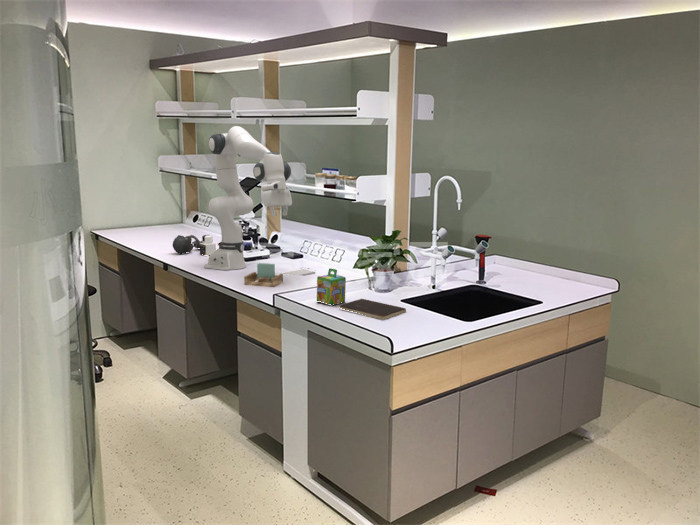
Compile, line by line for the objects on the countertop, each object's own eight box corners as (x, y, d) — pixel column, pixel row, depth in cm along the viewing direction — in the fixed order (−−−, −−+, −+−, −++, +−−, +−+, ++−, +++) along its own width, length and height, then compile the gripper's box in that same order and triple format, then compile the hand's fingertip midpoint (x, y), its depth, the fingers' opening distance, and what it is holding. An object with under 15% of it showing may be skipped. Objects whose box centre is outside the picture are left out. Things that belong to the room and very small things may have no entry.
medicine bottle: (199, 254, 374) (199, 235, 372) (210, 253, 379) (209, 233, 377) (205, 256, 369) (205, 236, 367) (216, 255, 374) (215, 235, 372)
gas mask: (205, 264, 388) (178, 251, 366) (194, 262, 392) (167, 250, 371) (211, 243, 391) (185, 229, 370) (201, 241, 395) (174, 227, 374)
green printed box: (316, 302, 269) (316, 269, 266) (330, 298, 276) (330, 266, 273) (331, 306, 263) (331, 272, 260) (346, 302, 270) (346, 269, 267)
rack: (244, 286, 296) (244, 276, 295) (254, 281, 306) (253, 271, 305) (274, 289, 292) (274, 278, 291) (282, 284, 302) (282, 274, 301)
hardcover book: (382, 321, 245) (382, 315, 244) (338, 310, 259) (338, 305, 259) (406, 313, 257) (406, 307, 256) (362, 303, 271) (362, 298, 271)
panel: (257, 282, 301) (257, 263, 300) (259, 281, 304) (259, 262, 302) (272, 283, 299) (272, 265, 297) (274, 282, 302) (274, 264, 300)
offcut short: (258, 281, 295) (258, 278, 295) (260, 280, 299) (260, 277, 299) (268, 282, 295) (268, 279, 294) (270, 280, 298) (270, 277, 298)
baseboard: (254, 279, 313) (269, 283, 305) (254, 274, 313) (269, 278, 305) (300, 271, 335) (315, 274, 327) (300, 265, 335) (315, 269, 327)
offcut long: (254, 284, 296) (254, 281, 296) (257, 282, 300) (257, 279, 300) (267, 285, 295) (267, 282, 294) (270, 283, 298) (270, 280, 298)
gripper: (282, 187, 303) (285, 216, 303) (258, 186, 284) (262, 217, 285) (293, 186, 300) (296, 214, 301) (270, 185, 282) (273, 215, 282)
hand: (279, 215), depth 293 cm, fingers open, 8 cm apart
